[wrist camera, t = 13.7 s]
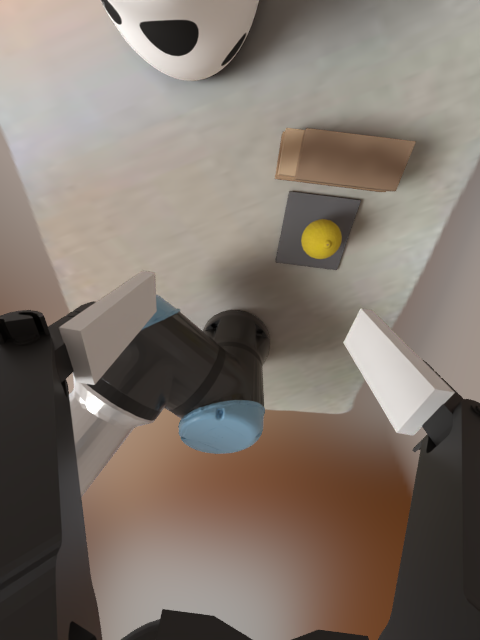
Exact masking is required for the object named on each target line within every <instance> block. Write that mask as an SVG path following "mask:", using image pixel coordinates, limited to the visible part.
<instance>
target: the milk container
mask: <svg viewBox="0 0 480 640" xmlns="http://www.w3.org/2000/svg"><path fill="white" fill-rule="evenodd" d="M101 2H102V4H103V6H104V8H105V10H106V12H107V14H108V15H109V17H110V18H111V20H112V22H113V23H114V25H115V26H116V28H117V29H118V31H119V32H120V33H121V35H122V36H123V38H124V39H125V40H126V41H127V43H128V44H129V45H130V46H131V47H132V48H133V49H134V50H135V51H136V52H137V54H138V55H140V56H141V57H142V58H143V59H144V60H145V61H146V62H148V63H149V64H150V65H151V66H153V67H154V68H156V69H157V70H159V71H160V72H162V73H164V74H166V75H168V76H171V77H173V78H176V79H180V80H185V81H196V80H202V79H205V78H208V77H210V76H212V75H214V74H216V73H217V72H219V71H220V70H222V69H223V68H224V67H225V66H226V65H227V64H228V63H229V62H230V61H231V60H232V59H233V58H234V56H235V55H236V54H237V52H238V51H239V49H240V48H241V46H242V44H243V43H244V41H245V39H246V37H247V35H248V33H249V30H250V28H251V25H252V22H253V19H254V16H255V13H256V10H257V6H258V3H259V0H101Z"/></svg>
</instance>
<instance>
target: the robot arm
mask: <svg viewBox="0 0 480 640" xmlns="http://www.w3.org/2000/svg"><path fill="white" fill-rule="evenodd" d="M344 345H345V346H346V348H347V350H348V351H349V353H350V355H351V356H352V358H353V360H354V362H355V363H356V365H357V367H358V368H359V370H360V372H361V373H362V375H363V377H364V378H365V380H366V382H367V384H368V385H369V387H370V388H371V390H372V392H373V394H374V395H375V397H376V399H377V400H378V402H379V404H380V405H381V407H382V408H383V411H384V412H385V414H386V416H387V417H388V419H389V420H390V422H391V424H392V426H393V427H394V429H395V431H396V432H397V433H401V434H407V435H415V433H416V432H417V431H418V430H419V429H420V428H421V427H423V428H424V430H425V431H426V433H427V435H426V436H425V437H424V438H423V440H421V441H420V442H419V443H418V444H417V445H416V446H415V447H414V448H413V451H414V452H416V451H417V450H421V451H420V457H419V462H418V468H417V474H416V479H415V484H414V490H413V496H412V501H411V507H410V513H409V518H408V524H407V530H406V535H405V541H404V546H403V552H402V557H401V563H400V569H399V574H398V580H397V585H396V591H395V597H394V602H393V608H392V613H391V617H390V620H389V622H388V624H387V626H386V627H385V629H384V630H383V632H382V633H381V635H380V637H379V639H378V640H480V403H478V402H476V401H473V400H469V399H463V398H462V397H461V396H460V395H459V394H458V393H457V392H456V391H455V390H454V389H453V388H452V387H451V386H450V385H449V384H448V383H447V382H446V381H445V380H444V379H443V378H440V375H438V373H437V372H435V371H434V369H433V368H432V367H430V365H429V364H427V362H425V361H424V360H422V359H421V358H420V357H419V356H418V355H417V354H416V353H415V352H414V351H412V349H411V348H410V347H409V346H408V345H407V344H406V343H405V342H404V341H403V340H402V339H401V338H400V337H399V336H398V335H397V334H395V332H394V331H393V330H392V329H391V328H390V327H389V326H388V325H387V324H386V323H385V322H384V321H383V320H382V319H381V318H380V317H379V316H378V315H377V314H376V313H375V312H374V311H373V310H368V309H362V308H360V310H359V312H358V314H357V316H356V318H355V320H354V322H353V324H352V326H351V328H350V330H349V332H348V334H347V337H346V339H345V341H344ZM269 349H270V338H269V333H268V330H267V328H266V326H265V325H264V323H263V322H262V321H261V320H260V319H258V318H257V317H255V316H254V315H252V314H250V313H247V312H243V311H237V310H231V311H225V312H221V313H219V314H217V315H215V316H213V317H212V318H211V319H210V320H209V321H208V322H207V323H206V325H205V327H204V329H203V331H202V330H201V329H199V328H198V327H197V326H196V325H195V324H194V323H192V322H191V321H190V320H189V319H188V318H186V317H185V316H184V315H183V314H182V313H181V312H180V310H179V309H176V308H175V307H173V306H172V305H171V304H169V303H168V302H167V301H165V300H164V299H163V298H161V297H160V296H158V295H156V284H155V273H154V272H149V271H141V272H140V273H138V274H137V275H135V276H134V277H132V278H131V279H129V280H128V281H126V282H125V283H124V284H122V285H121V286H119V287H118V288H116V289H115V290H113V291H112V292H110V293H109V294H107V295H106V296H104V297H103V298H101V299H100V300H98V301H97V302H90V303H87V304H84V305H81V306H80V307H78V308H77V309H75V310H74V311H73V312H70V313H69V314H68V315H67V316H65V317H63V318H61V319H60V320H58V321H57V322H55V323H53V324H52V325H50V326H49V327H48V326H47V324H46V321H45V318H44V316H43V314H42V313H40V312H38V311H31V310H26V311H16V312H10V313H7V314H4V315H1V316H0V640H102V634H101V626H100V620H99V612H98V607H97V602H96V597H95V593H94V589H93V586H92V581H91V575H90V567H89V558H88V551H87V542H86V533H85V525H84V517H83V509H82V500H81V497H82V495H83V494H84V493H85V492H86V490H87V489H88V488H89V486H90V485H91V484H92V482H93V481H94V480H95V478H96V477H97V476H98V475H99V473H100V472H101V471H102V469H103V468H104V467H105V465H106V464H107V463H108V461H109V460H110V459H111V458H112V456H113V455H114V454H115V452H116V451H117V450H118V448H119V447H120V446H121V444H122V443H123V442H124V441H125V439H126V438H127V437H128V435H129V434H130V433H131V431H132V430H133V429H134V428H135V427H137V426H141V425H145V424H149V423H152V422H154V421H155V419H156V418H157V417H158V415H159V414H160V413H161V411H162V410H163V409H164V408H166V409H167V410H169V411H171V412H172V413H174V414H175V415H177V416H178V417H180V418H181V420H180V423H179V426H178V427H179V435H180V436H181V440H182V441H183V442H184V443H185V444H186V445H188V446H189V447H191V448H193V449H195V450H199V451H202V452H207V453H215V454H220V453H233V452H237V451H240V450H243V449H246V448H248V447H250V446H251V445H253V444H254V443H255V442H256V441H257V440H258V439H259V437H260V436H261V434H262V431H263V416H264V413H265V409H264V395H263V372H262V366H263V364H264V362H265V360H266V358H267V355H268V353H269ZM72 372H73V379H74V389H73V391H72V392H71V393H70V394H69V392H68V384H67V381H66V378H67V377H68V376H69V375H70V374H71V373H72ZM121 640H252V639H250V638H249V637H247V636H246V635H244V634H242V633H241V632H239V631H237V630H236V629H234V628H233V627H231V626H229V625H228V624H226V623H224V622H223V621H221V620H220V619H218V618H216V617H215V616H210V615H203V614H195V613H187V612H180V611H172V610H165V609H163V610H162V614H161V619H159V620H156V621H153V622H150V623H147V624H145V625H143V626H141V627H139V628H137V629H136V630H134V631H133V632H131V633H130V634H128V635H127V636H125V637H124V638H123V639H121ZM292 640H369V639H368V636H363V635H355V634H347V633H339V632H332V631H324V630H316V631H314V632H311V633H308V634H306V635H303V636H300V637H298V638H295V639H292Z"/></svg>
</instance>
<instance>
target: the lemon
mask: <svg viewBox="0 0 480 640" xmlns="http://www.w3.org/2000/svg"><path fill="white" fill-rule="evenodd" d="M341 240H342V236H341V231H340V229H339V227H338V226H337V225H336V224H335V223H334V222H332V221H330V220H326V219H319V220H316V221H314V222H312V223H310V224H309V225H308V226H307V227H306V228H305V230H304V232H303V234H302V239H301V243H302V247H303V250H304V251H305V252H306V254H308V255H309V256H310V257H313V258H315V259H325V258H328V257H330V256H332V255H333V254H334V253H335V252H336V251H337V250H338V249H339V247H340V244H341Z"/></svg>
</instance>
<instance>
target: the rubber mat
mask: <svg viewBox="0 0 480 640" xmlns="http://www.w3.org/2000/svg"><path fill="white" fill-rule="evenodd" d="M360 202H361V200H354V199H346V198H338V197H330V196H322V195H314V194H306V193H298V192H290V191H289V195H288V200H287V205H286V210H285V215H284V221H283V226H282V231H281V236H280V241H279V247H278V252H277V257H276V262H277V263H285V264H293V265H301V266H309V267H317V268H324V269H332V270H337V268H338V265H339V263H340V260H341V257H342V254H343V251H344V248H345V245H346V242H347V239H348V236H349V234H350V231H351V228H352V225H353V222H354V219H355V216H356V213H357V210H358V208H359V205H360ZM319 219H326V220H330V221H332V222H334V223H335V224H336V225H337V226H338V227H339V229H340V231H341V236H342V240H341V244H340V247H339V249H338V250H337V251H336V252H335V253H334V254H333V255H332V256H330V257H328V258H325V259H315V258H313V257H310V256H309V255H308V254H306V252H305V251H304V250H303V247H302V243H301V239H302V234H303V232H304V230H305V228H306V227H307V226H308V225H309V224H310V223H312V222H314V221H316V220H319Z"/></svg>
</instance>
